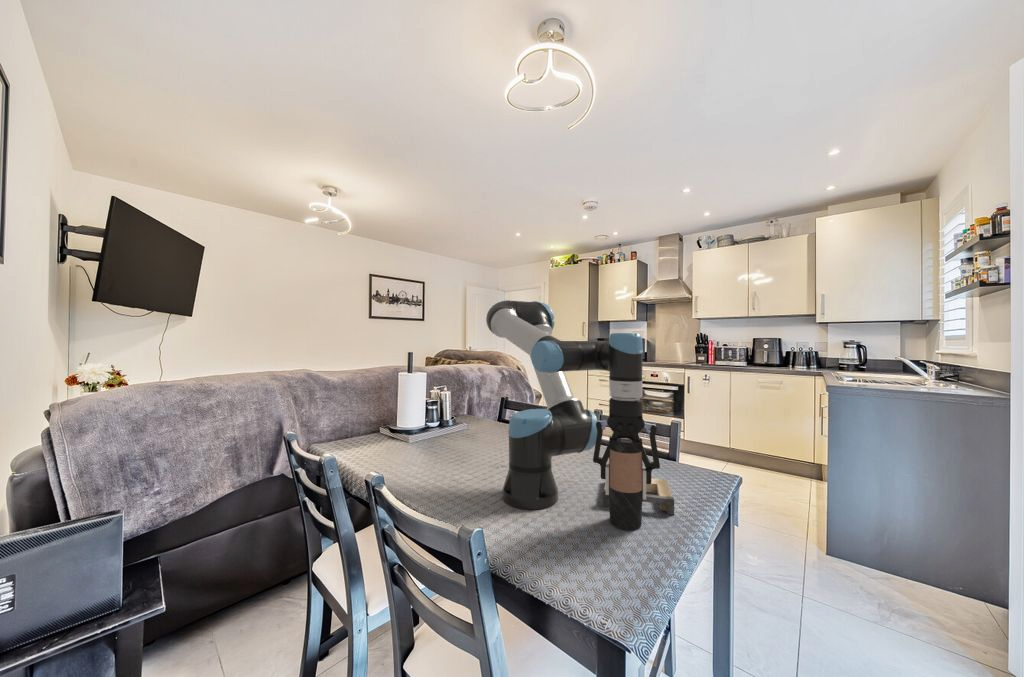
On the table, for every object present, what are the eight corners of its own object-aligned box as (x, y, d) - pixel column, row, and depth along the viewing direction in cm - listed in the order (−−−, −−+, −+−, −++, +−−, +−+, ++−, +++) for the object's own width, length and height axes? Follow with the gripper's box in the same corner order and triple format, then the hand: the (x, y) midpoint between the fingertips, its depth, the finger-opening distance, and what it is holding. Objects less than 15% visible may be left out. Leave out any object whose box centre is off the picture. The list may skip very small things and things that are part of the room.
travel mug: (644, 533, 83) (645, 443, 83) (609, 529, 85) (609, 441, 85) (640, 516, 91) (640, 435, 91) (607, 513, 92) (608, 433, 92)
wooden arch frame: (603, 505, 97) (603, 491, 97) (606, 481, 113) (606, 469, 113) (674, 514, 92) (674, 499, 92) (667, 488, 108) (667, 475, 108)
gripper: (580, 398, 87) (579, 495, 87) (674, 403, 81) (674, 507, 81) (583, 393, 94) (583, 483, 94) (670, 397, 88) (670, 493, 88)
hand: (625, 494), depth 88 cm, fingers closed on travel mug, 8 cm apart
